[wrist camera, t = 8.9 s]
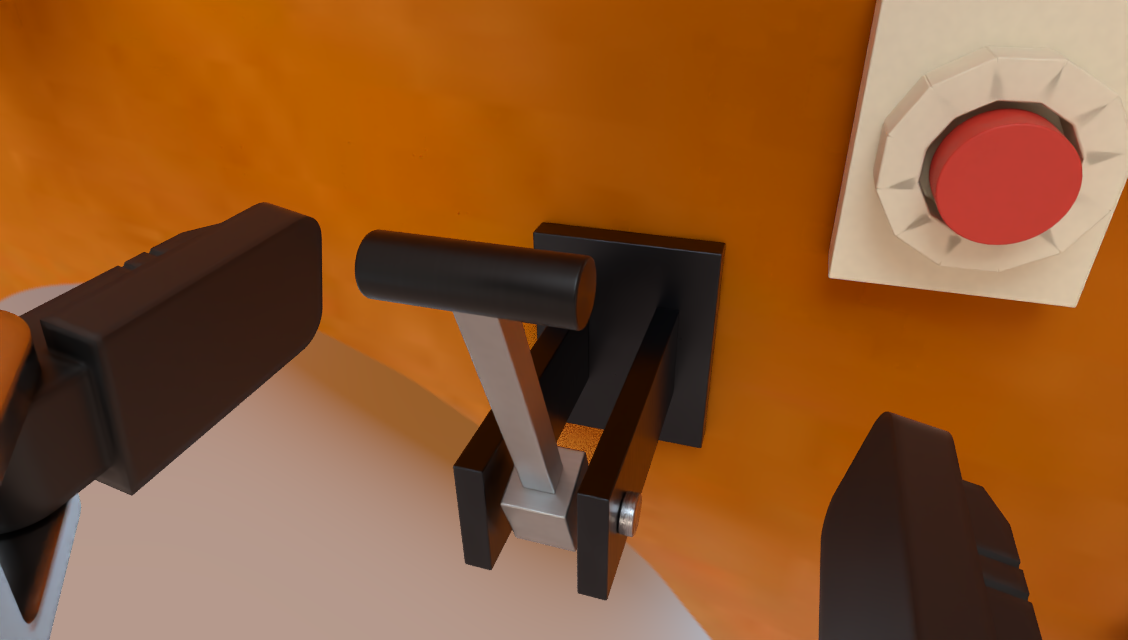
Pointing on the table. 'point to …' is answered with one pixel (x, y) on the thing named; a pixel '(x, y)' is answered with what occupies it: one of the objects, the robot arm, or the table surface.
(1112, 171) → the control block
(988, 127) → the button
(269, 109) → the table surface
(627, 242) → the bracket
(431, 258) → the lever
